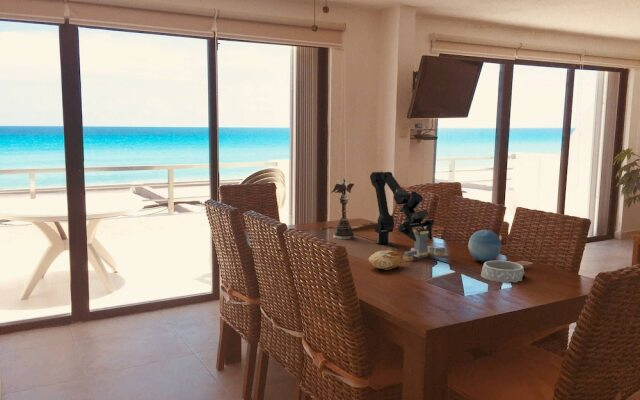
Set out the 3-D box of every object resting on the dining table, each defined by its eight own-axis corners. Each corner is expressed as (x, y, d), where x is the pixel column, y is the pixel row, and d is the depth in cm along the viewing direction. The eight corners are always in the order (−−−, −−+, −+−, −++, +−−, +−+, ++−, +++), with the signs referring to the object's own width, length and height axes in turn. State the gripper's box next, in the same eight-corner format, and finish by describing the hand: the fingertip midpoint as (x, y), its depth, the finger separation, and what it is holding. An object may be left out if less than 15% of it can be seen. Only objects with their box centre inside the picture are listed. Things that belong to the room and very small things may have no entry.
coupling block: (413, 255, 271) (413, 230, 269) (421, 254, 273) (422, 229, 271) (419, 258, 266) (420, 231, 264) (427, 257, 268) (428, 230, 267)
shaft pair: (400, 258, 265) (400, 249, 264) (439, 253, 275) (439, 244, 274) (407, 261, 260) (407, 251, 259) (446, 256, 270) (447, 246, 269)
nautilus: (407, 264, 257) (418, 274, 243) (363, 263, 253) (372, 273, 239) (408, 247, 256) (420, 257, 242) (364, 246, 252) (374, 256, 237)
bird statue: (327, 234, 323) (327, 174, 319) (348, 233, 326) (349, 174, 321) (333, 239, 307) (333, 177, 302) (355, 238, 310) (356, 177, 305)
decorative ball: (464, 262, 257) (465, 231, 255) (471, 256, 270) (472, 226, 268) (497, 266, 250) (499, 234, 248) (503, 259, 264) (504, 228, 261)
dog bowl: (527, 274, 238) (528, 262, 238) (519, 285, 223) (520, 272, 222) (487, 269, 247) (488, 257, 246) (477, 279, 231) (477, 267, 231)
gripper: (401, 205, 265) (414, 232, 257) (433, 203, 273) (446, 228, 265) (392, 219, 273) (404, 245, 265) (423, 216, 281) (436, 241, 273)
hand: (423, 239), depth 267 cm, fingers open, 9 cm apart
